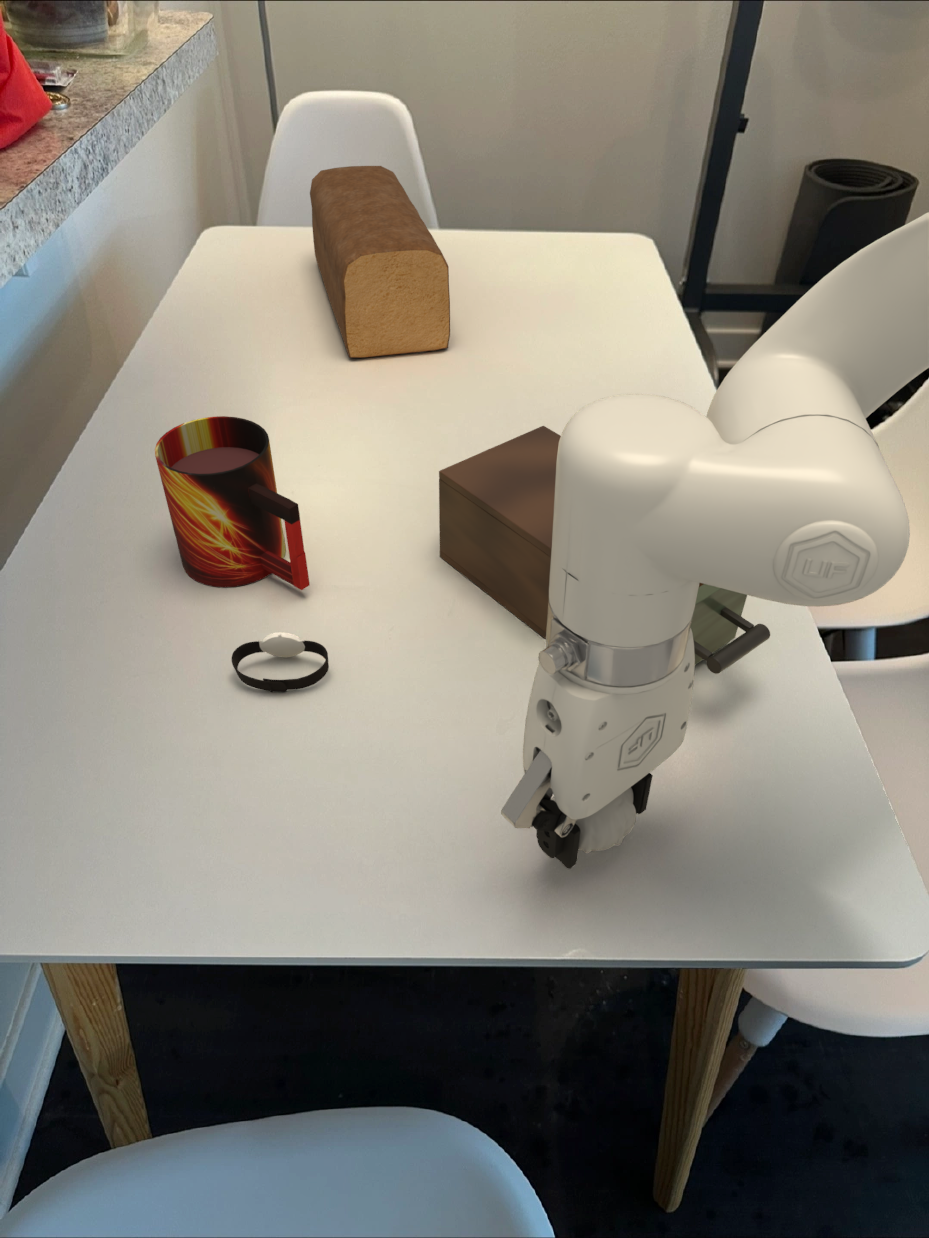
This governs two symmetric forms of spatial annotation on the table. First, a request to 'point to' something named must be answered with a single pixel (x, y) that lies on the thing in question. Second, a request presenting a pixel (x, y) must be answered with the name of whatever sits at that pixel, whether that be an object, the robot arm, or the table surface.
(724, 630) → the drawer
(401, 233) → the bread
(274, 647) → the watch
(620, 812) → the garlic
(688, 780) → the table surface
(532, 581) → the cabinet
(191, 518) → the mug
